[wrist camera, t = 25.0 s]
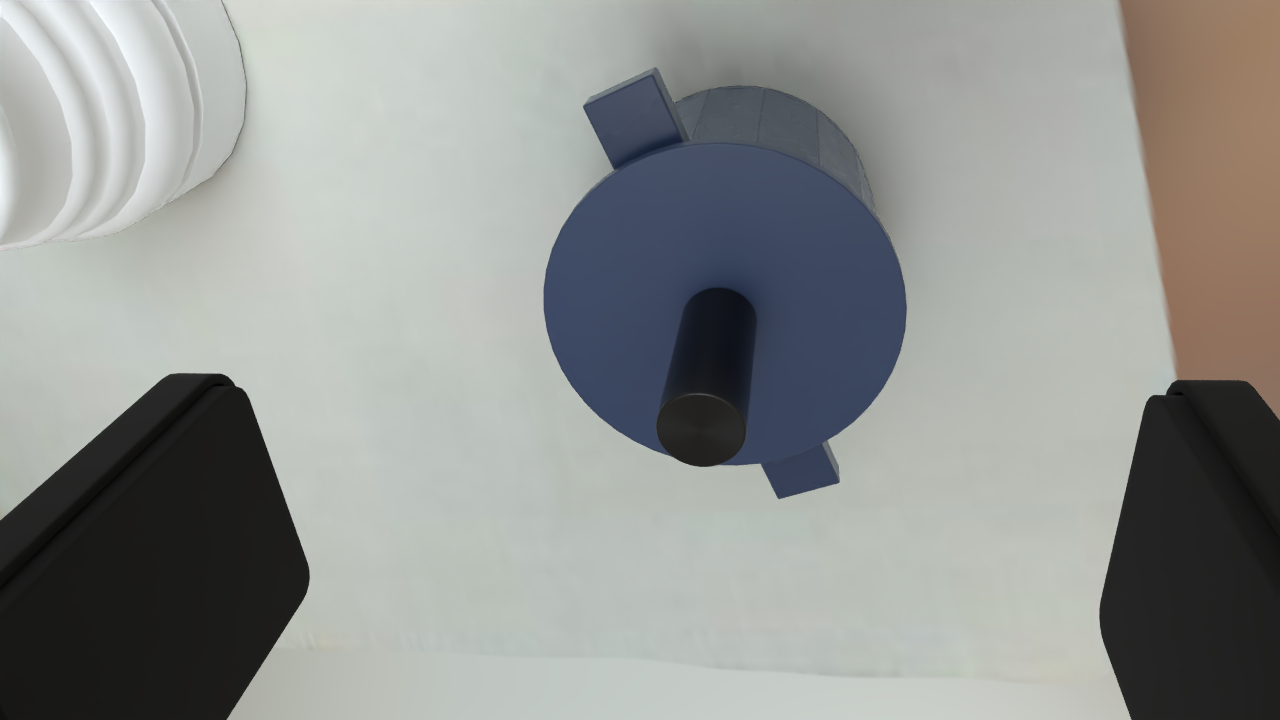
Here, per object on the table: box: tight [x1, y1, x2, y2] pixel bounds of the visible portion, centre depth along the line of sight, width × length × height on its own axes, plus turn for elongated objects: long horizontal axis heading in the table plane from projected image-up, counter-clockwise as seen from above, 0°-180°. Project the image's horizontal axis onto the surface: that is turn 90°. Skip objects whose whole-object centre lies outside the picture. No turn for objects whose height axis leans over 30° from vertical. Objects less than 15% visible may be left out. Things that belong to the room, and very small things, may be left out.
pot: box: [583, 68, 876, 499], centre depth 34 cm, size 11×16×10 cm, turn 26°
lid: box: [544, 139, 907, 467], centre depth 27 cm, size 12×12×7 cm
